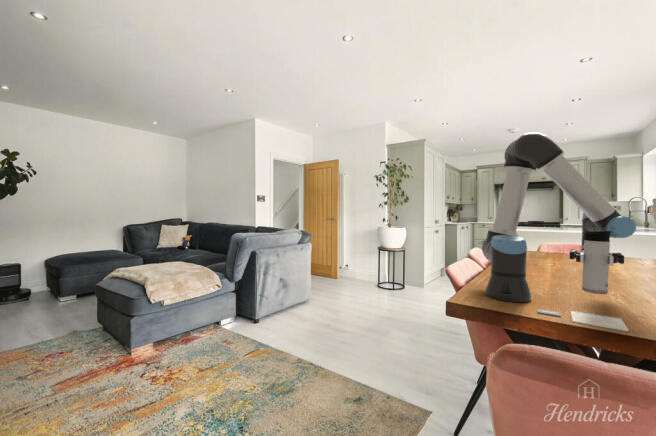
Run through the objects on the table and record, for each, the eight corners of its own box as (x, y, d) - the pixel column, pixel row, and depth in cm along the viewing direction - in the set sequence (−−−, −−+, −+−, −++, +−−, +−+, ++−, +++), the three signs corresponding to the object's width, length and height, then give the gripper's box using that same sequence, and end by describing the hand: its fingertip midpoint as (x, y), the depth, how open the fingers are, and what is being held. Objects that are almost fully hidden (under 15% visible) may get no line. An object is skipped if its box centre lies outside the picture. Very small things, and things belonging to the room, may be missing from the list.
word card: (537, 313, 98) (537, 311, 98) (537, 310, 101) (537, 308, 101) (560, 317, 94) (560, 315, 94) (560, 313, 97) (560, 312, 97)
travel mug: (613, 295, 95) (616, 231, 94) (590, 293, 96) (592, 230, 95) (599, 289, 101) (602, 230, 100) (577, 288, 102) (580, 229, 101)
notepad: (572, 321, 90) (572, 320, 90) (570, 311, 100) (570, 310, 100) (628, 331, 83) (628, 330, 83) (620, 319, 92) (620, 318, 92)
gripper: (630, 266, 106) (640, 276, 88) (561, 260, 118) (557, 267, 101) (631, 245, 106) (640, 250, 88) (562, 240, 118) (558, 245, 100)
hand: (596, 259), depth 94 cm, fingers closed on travel mug, 6 cm apart
